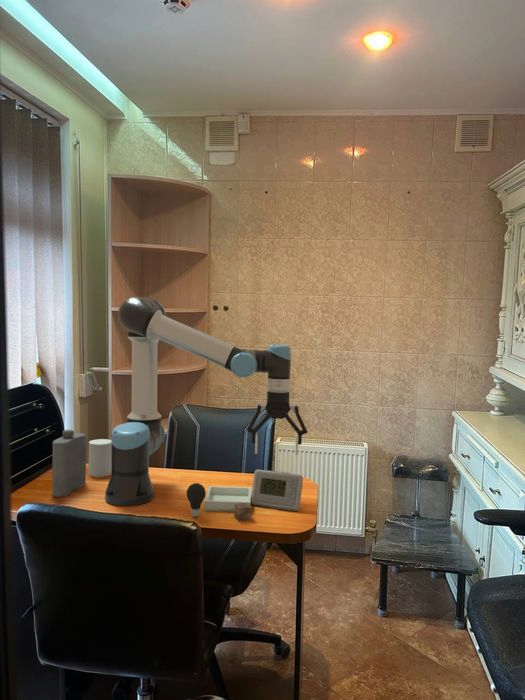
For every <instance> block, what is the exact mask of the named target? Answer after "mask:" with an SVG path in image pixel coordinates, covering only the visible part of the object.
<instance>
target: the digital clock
mask: <svg viewBox="0 0 525 700" xmlns="http://www.w3.org/2000/svg"><path fill="white" fill-rule="evenodd" d="M303 481H304V478H303V475H302V474H297V473H291V472H283V471H277V470H269V469H268V470H263V469H255V471H254V475H253V481H252V487H251V505H253V506H260V508H267V509H269V508H270V509H276V510H280V511H281V510H283V511H293V512H297V511H299V510H300V508H301V501H302V500H301V499H302V490H303Z"/></svg>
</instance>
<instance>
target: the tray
mask: <svg viewBox="0 0 525 700" xmlns="http://www.w3.org/2000/svg"><path fill="white" fill-rule="evenodd" d="M251 495H252V487H249V486H247V487H244V486H238V487H237V486H211V485H209V486H208V489H207V492H206V495H205V498H204V500H203V503H204V504H203V505H204V506H203V507H204V508H203V511H204V512H228V513H229V512H233V513H235V504H238V503H248V504H249V505H250V506H251V505H252V504H251Z"/></svg>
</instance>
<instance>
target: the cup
mask: <svg viewBox="0 0 525 700" xmlns="http://www.w3.org/2000/svg"><path fill="white" fill-rule="evenodd" d="M111 453H112V442H111V439H106V438H99V439H92V440H89V441H88V474H89V475H90V476H89V475H88V476H89V477H91V476H94V477H93V478H104V477H103V476H106V477H108V476H107V475H109V474H111ZM109 476H110V475H109Z"/></svg>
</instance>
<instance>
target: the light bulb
mask: <svg viewBox="0 0 525 700" xmlns="http://www.w3.org/2000/svg"><path fill="white" fill-rule="evenodd" d="M185 493H186V498H187V501H188V502H189V505H190V509H191V516H192V517H193V518H197V517H198V516H200V514H201V506H202V503H204V501H205V498H206V494H207V492H206V489H205V487H204V485H203V484H201V483H198V482H195V483H192V484H190V485H189V486H188V487H187V489H186V492H185Z"/></svg>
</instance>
